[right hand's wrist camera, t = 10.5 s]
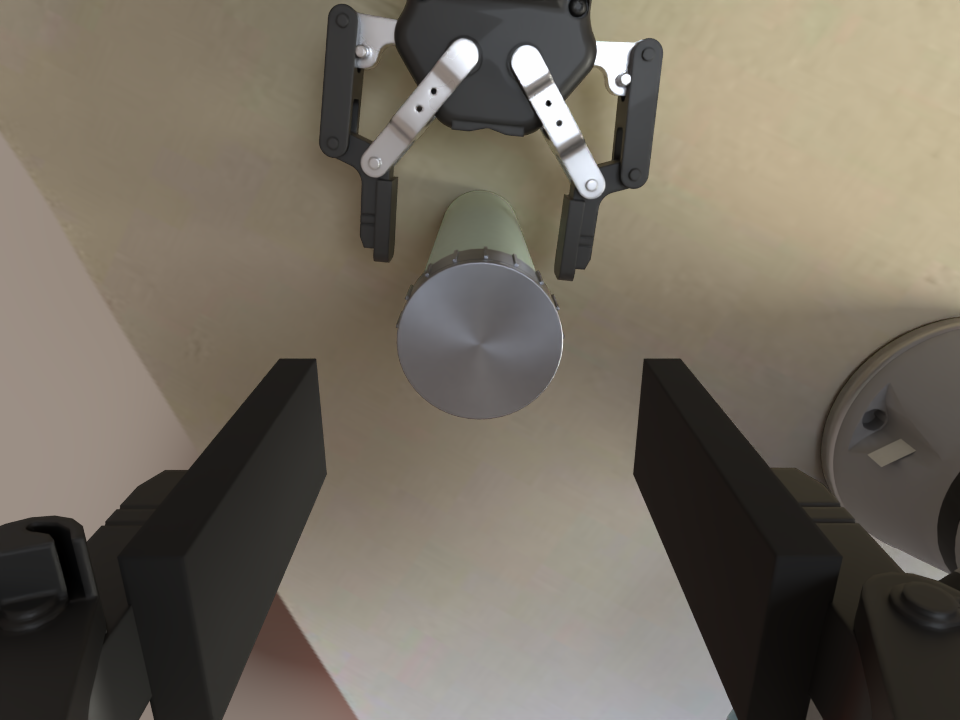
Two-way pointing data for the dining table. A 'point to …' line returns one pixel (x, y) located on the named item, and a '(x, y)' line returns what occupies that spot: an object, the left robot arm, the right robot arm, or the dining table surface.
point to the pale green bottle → (480, 227)
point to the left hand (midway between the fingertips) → (474, 268)
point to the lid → (480, 334)
